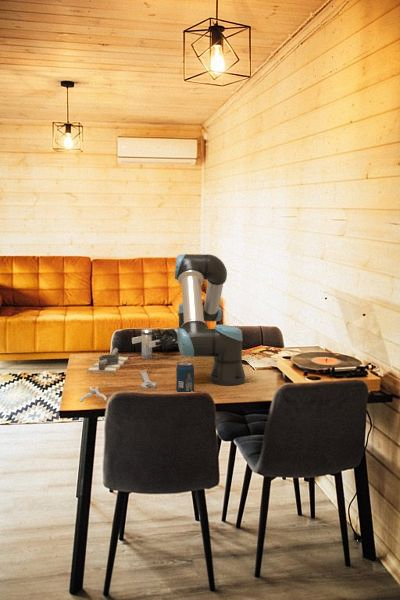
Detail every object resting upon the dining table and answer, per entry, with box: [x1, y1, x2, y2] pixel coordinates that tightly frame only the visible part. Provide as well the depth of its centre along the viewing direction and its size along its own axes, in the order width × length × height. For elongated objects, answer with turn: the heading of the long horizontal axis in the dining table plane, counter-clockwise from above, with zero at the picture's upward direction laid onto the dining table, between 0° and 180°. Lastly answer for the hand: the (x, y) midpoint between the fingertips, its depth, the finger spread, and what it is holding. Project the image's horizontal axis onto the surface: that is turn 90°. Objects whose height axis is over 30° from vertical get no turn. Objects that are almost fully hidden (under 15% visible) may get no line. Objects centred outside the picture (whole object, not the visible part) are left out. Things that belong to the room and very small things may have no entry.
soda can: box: [175, 361, 195, 393], centre depth 225 cm, size 7×7×12 cm
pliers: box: [79, 386, 108, 403], centre depth 222 cm, size 10×2×15 cm
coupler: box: [140, 327, 153, 360], centre depth 279 cm, size 5×5×14 cm
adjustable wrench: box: [139, 370, 158, 391], centre depth 242 cm, size 25×6×2 cm, turn 7°
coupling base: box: [86, 347, 130, 375], centre depth 265 cm, size 26×12×5 cm, turn 173°
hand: (141, 342), depth 276 cm, fingers open, 11 cm apart
